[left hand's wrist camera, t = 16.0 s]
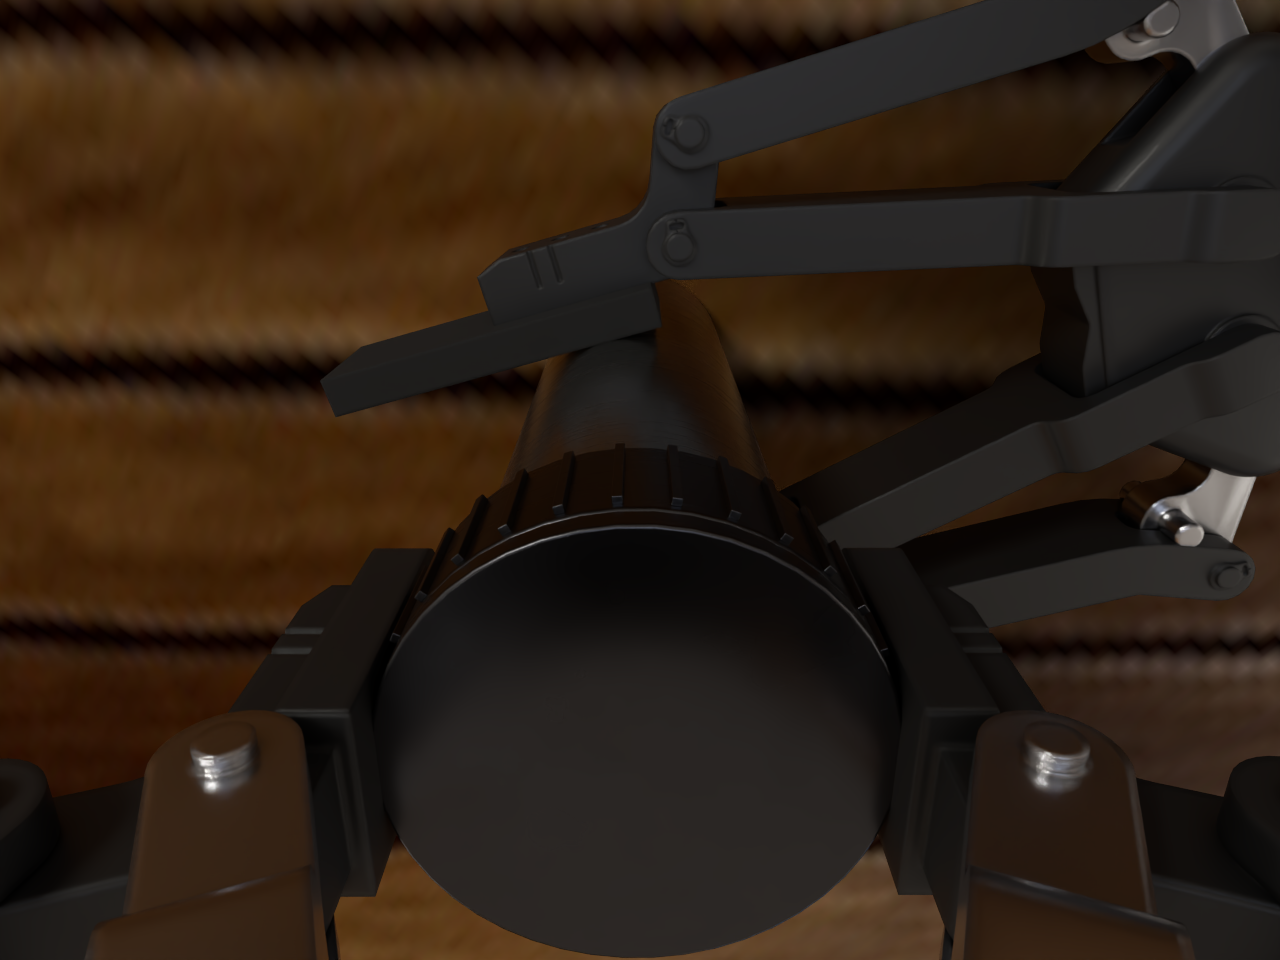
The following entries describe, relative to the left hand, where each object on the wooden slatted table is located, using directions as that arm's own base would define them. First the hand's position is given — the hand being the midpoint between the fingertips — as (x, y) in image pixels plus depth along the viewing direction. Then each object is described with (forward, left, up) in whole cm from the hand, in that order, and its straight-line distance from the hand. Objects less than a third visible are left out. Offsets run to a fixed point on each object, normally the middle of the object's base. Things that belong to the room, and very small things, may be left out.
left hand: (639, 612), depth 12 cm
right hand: (+2, -5, -7) cm, 9 cm away
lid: (0, 0, +3) cm, 3 cm away
